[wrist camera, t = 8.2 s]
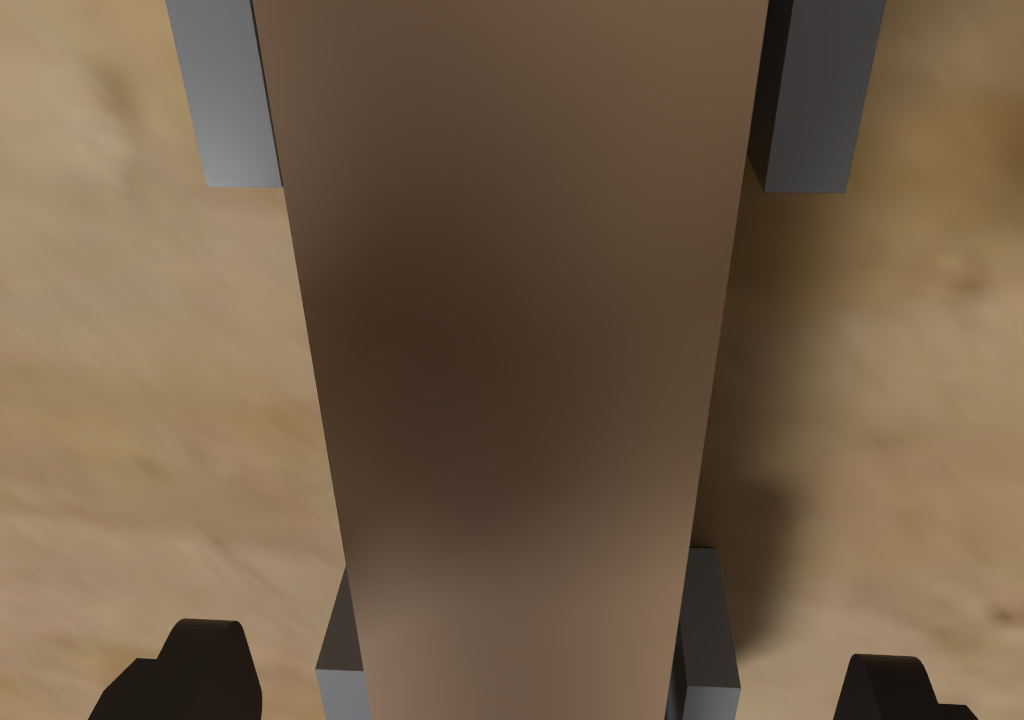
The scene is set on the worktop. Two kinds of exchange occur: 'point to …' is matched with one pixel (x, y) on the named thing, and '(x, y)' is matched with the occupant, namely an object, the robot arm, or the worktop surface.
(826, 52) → the endcap
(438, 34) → the brown wooden bar
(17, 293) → the worktop surface
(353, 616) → the endcap
